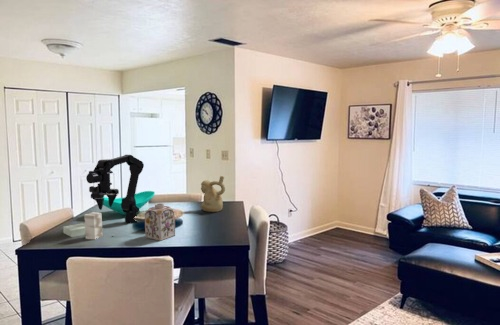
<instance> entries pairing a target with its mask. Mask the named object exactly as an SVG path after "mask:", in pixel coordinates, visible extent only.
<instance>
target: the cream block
mask: <svg viewBox="0 0 500 325" xmlns="http://www.w3.org/2000/svg"><path fill="white" fill-rule="evenodd" d="M83 217H84V223H85V234H84V235H85V239H87V240H97V239H99V237H100V238H102V237H104V236H103V219H102V217H103V216H102V212H94V211H93V212H89V213H86V214H84V216H83ZM101 236H102V237H101ZM96 238H97V239H96Z"/></svg>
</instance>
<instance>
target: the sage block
mask: <svg viewBox="0 0 500 325" xmlns="http://www.w3.org/2000/svg"><path fill="white" fill-rule="evenodd" d="M62 228H63V234H64V235H67V236H69V237H71V238H74V237H79V236H84V235H85V222H81V223H78V224H77V223H75V224H70V225H66V226H65V225H64V226H62Z"/></svg>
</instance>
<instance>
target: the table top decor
mask: <svg viewBox="0 0 500 325" xmlns="http://www.w3.org/2000/svg"><path fill="white" fill-rule="evenodd" d="M155 194H156V193H155V191H152V190H144V191H140V192H138V193H135V200H136V206H137V207H138V208H139V210H140V209H141V208H142V207H144V206H145V205H146V204H147V203H148V202H150V201H151V200H152V199H153V198H154V196H155ZM125 197H126V196H125ZM125 197H116V198H115V200H114V202H113V204H112V206H111V207H109V200H108V197H107V196H104V197H103V198H104V202H103V207H106V208H108V209H110V210H112V211H114V212H116V213H118V214H120V215H126V213H124V212H123V209H122V208H121V202H122V198H125Z"/></svg>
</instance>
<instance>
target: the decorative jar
mask: <svg viewBox="0 0 500 325" xmlns="http://www.w3.org/2000/svg"><path fill="white" fill-rule="evenodd" d="M175 219H176V216H175V211H174V209H173V208H171V206H168V205H165V204H164V203H162V202H160V203H154V206H152V207H149V208H148V209H147V210H146V211H145V213H144V236H145V239H151V240H155V241H156V240H157V241H159V242H160V241H161V242H162V241H163V240H166V239H167V240H168V238H172V237H174V236H176V220H175Z"/></svg>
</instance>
